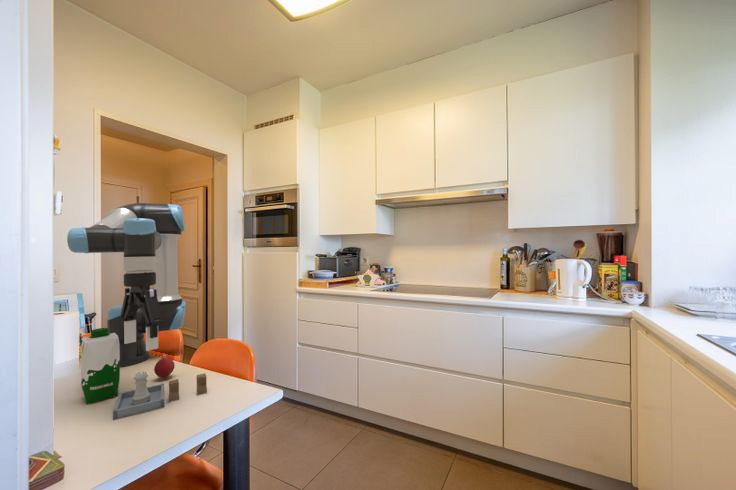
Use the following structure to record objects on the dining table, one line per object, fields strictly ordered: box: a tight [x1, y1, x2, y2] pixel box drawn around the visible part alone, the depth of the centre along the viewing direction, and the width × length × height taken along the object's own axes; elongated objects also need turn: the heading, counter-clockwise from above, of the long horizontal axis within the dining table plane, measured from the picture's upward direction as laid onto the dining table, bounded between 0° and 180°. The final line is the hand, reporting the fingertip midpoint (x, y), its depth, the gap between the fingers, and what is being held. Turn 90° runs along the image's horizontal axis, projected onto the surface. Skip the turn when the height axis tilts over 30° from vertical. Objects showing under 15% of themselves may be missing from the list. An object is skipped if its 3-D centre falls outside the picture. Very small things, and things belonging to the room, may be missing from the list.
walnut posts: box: [168, 373, 208, 403], centre depth 92 cm, size 3×10×5 cm, turn 123°
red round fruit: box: [153, 354, 176, 379], centre depth 106 cm, size 6×6×8 cm
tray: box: [112, 383, 165, 421], centre depth 88 cm, size 13×11×2 cm
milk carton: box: [80, 327, 121, 405], centre depth 93 cm, size 9×9×20 cm
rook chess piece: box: [131, 371, 151, 405], centre depth 88 cm, size 4×4×8 cm
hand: (140, 346), depth 88 cm, fingers open, 13 cm apart
